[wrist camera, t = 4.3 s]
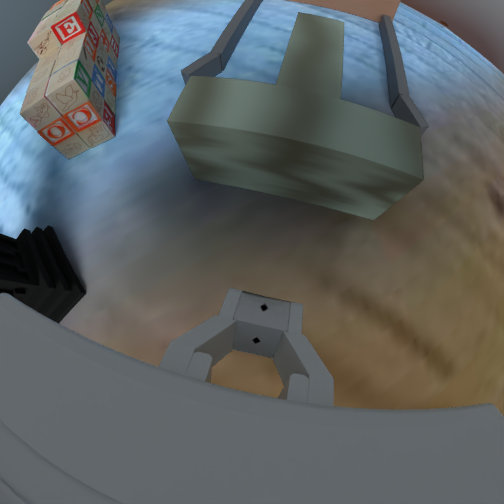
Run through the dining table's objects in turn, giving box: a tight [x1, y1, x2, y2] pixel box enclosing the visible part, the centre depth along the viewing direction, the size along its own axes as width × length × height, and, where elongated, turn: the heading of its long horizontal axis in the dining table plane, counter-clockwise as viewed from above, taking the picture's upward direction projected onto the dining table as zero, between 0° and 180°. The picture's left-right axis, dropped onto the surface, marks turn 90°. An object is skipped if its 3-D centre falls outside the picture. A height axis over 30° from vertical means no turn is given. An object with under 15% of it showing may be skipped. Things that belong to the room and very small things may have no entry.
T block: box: [167, 12, 424, 220], centre depth 19 cm, size 15×15×8 cm
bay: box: [181, 0, 429, 135], centre depth 22 cm, size 24×27×6 cm
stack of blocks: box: [20, 0, 120, 159], centre depth 19 cm, size 21×6×12 cm, turn 17°
